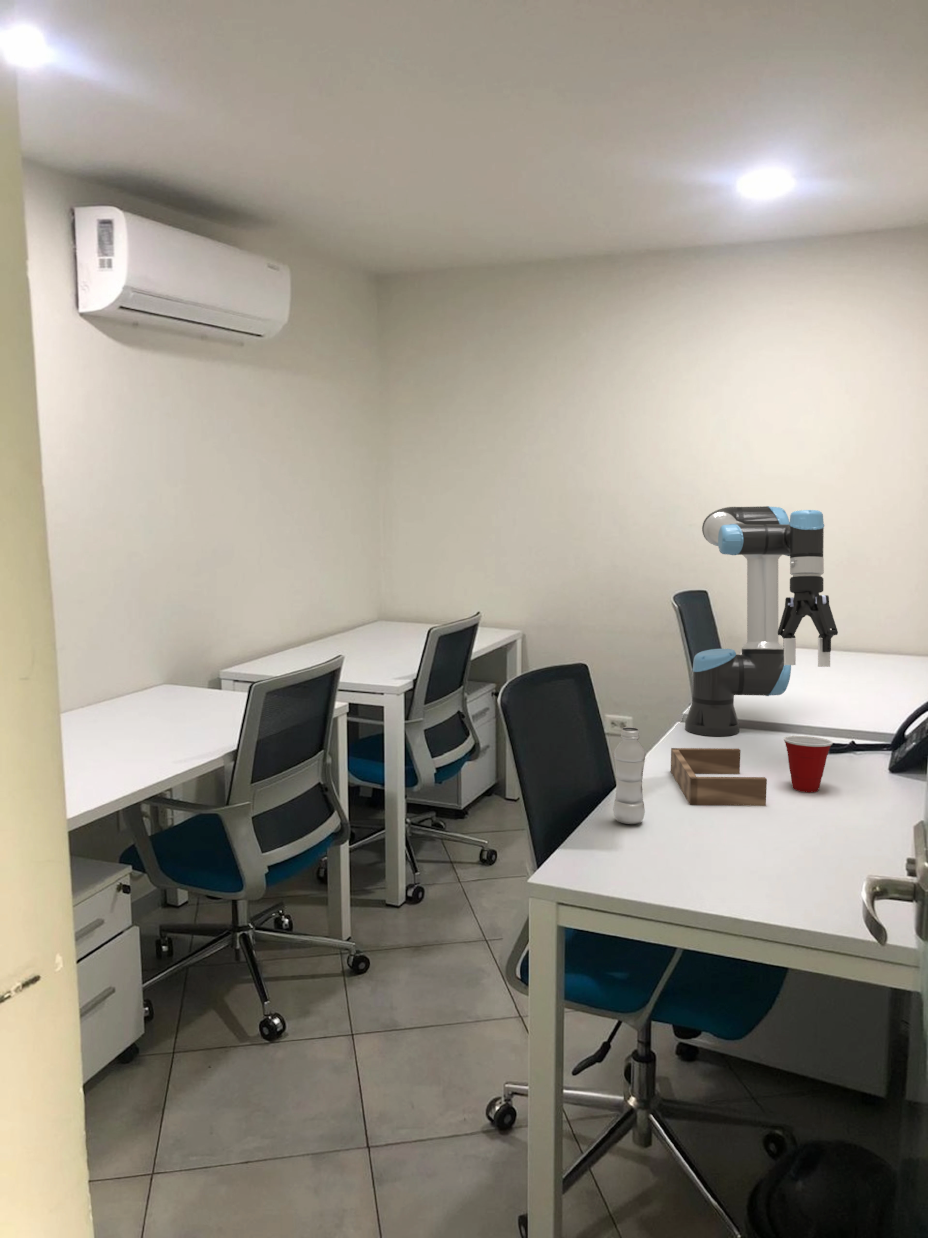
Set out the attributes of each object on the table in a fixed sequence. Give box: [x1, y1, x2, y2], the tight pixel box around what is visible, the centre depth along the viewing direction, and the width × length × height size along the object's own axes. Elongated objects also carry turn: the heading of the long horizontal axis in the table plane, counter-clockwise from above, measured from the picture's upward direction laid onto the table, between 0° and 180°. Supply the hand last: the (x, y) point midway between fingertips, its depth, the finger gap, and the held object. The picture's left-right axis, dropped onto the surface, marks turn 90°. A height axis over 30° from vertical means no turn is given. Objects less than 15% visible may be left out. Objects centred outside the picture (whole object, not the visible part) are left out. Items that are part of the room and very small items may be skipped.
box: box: [670, 747, 768, 807], centre depth 221 cm, size 25×16×6 cm, turn 178°
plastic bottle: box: [612, 726, 646, 825], centre depth 198 cm, size 6×7×20 cm
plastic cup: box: [782, 735, 834, 793], centre depth 220 cm, size 11×11×12 cm
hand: (806, 666), depth 224 cm, fingers open, 13 cm apart
